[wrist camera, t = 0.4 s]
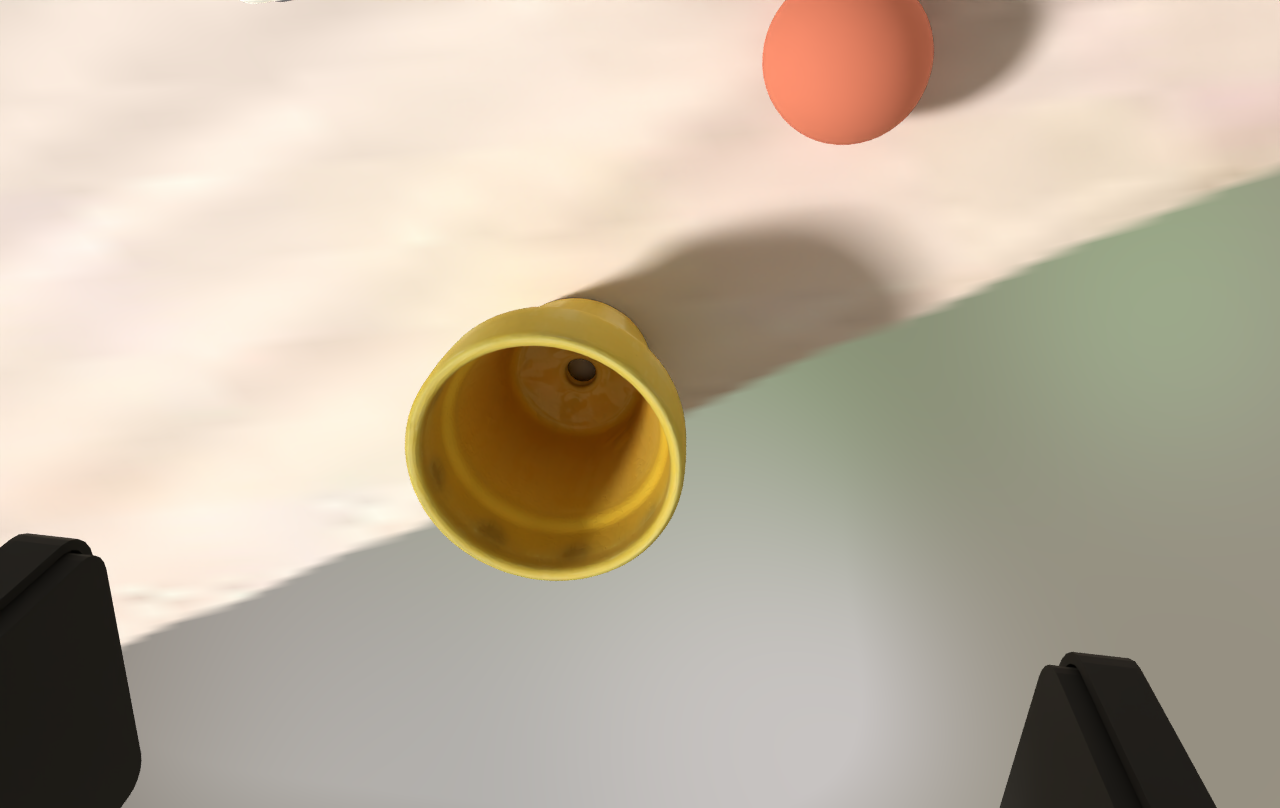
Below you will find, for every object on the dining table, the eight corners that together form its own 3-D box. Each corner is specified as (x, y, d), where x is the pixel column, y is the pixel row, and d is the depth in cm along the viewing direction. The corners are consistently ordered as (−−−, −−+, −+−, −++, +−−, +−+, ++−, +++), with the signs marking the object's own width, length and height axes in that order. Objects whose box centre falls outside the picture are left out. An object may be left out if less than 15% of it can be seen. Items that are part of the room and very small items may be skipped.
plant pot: (655, 224, 42) (631, 300, 33) (723, 435, 46) (718, 553, 37) (433, 289, 44) (356, 377, 36) (516, 485, 48) (465, 608, 39)
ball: (793, -58, 37) (802, -56, 32) (945, -6, 37) (979, 4, 32) (739, 102, 40) (738, 128, 34) (882, 149, 40) (903, 182, 35)
